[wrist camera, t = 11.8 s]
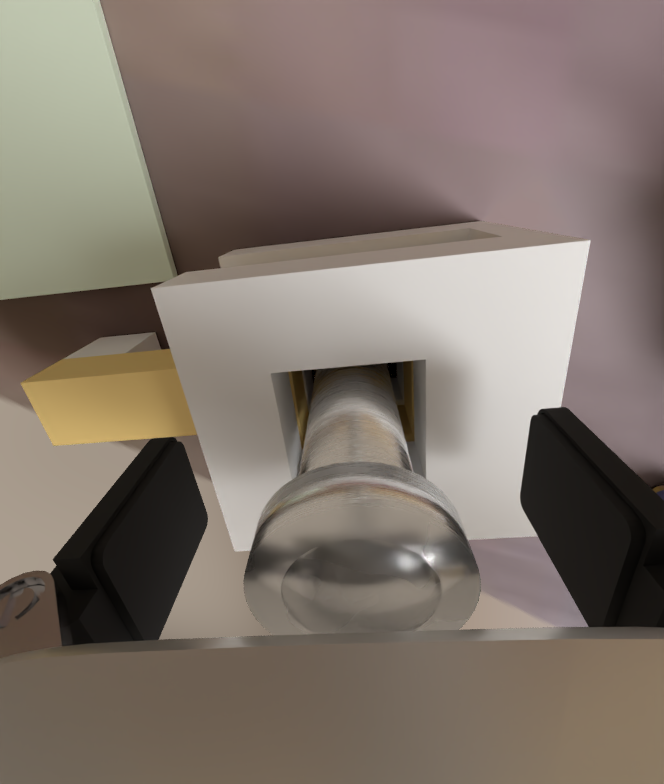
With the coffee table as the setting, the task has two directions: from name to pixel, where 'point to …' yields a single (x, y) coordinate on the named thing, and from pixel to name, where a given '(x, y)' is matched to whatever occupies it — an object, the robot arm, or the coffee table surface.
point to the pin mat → (70, 159)
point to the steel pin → (359, 526)
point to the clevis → (343, 360)
